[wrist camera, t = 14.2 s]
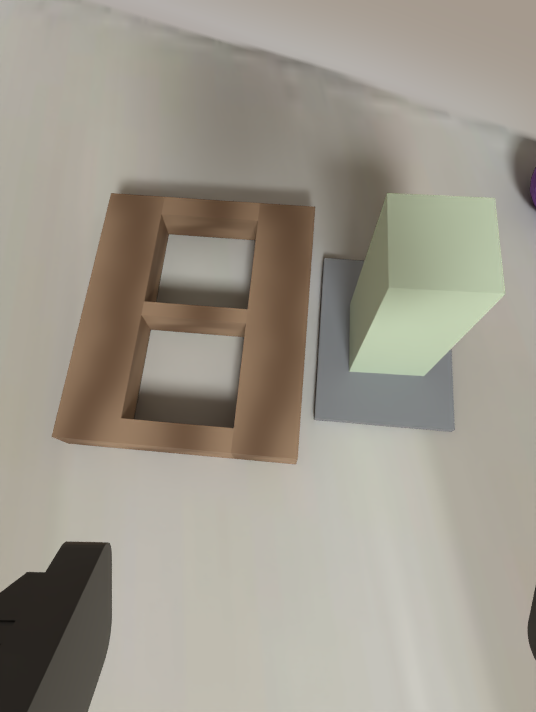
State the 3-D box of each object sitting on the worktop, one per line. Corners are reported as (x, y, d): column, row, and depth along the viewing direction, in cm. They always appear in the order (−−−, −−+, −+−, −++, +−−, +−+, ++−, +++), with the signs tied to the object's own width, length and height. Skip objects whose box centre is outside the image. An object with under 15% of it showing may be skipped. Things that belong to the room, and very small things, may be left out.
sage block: (348, 371, 32) (388, 287, 21) (349, 304, 34) (387, 192, 22) (423, 376, 32) (505, 293, 21) (421, 308, 33) (494, 198, 22)
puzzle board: (68, 443, 31) (51, 436, 29) (121, 214, 37) (111, 193, 35) (295, 464, 31) (297, 459, 28) (312, 227, 37) (315, 206, 34)
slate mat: (314, 419, 32) (314, 417, 31) (323, 262, 36) (324, 257, 35) (451, 431, 31) (454, 430, 31) (445, 270, 35) (448, 266, 35)
